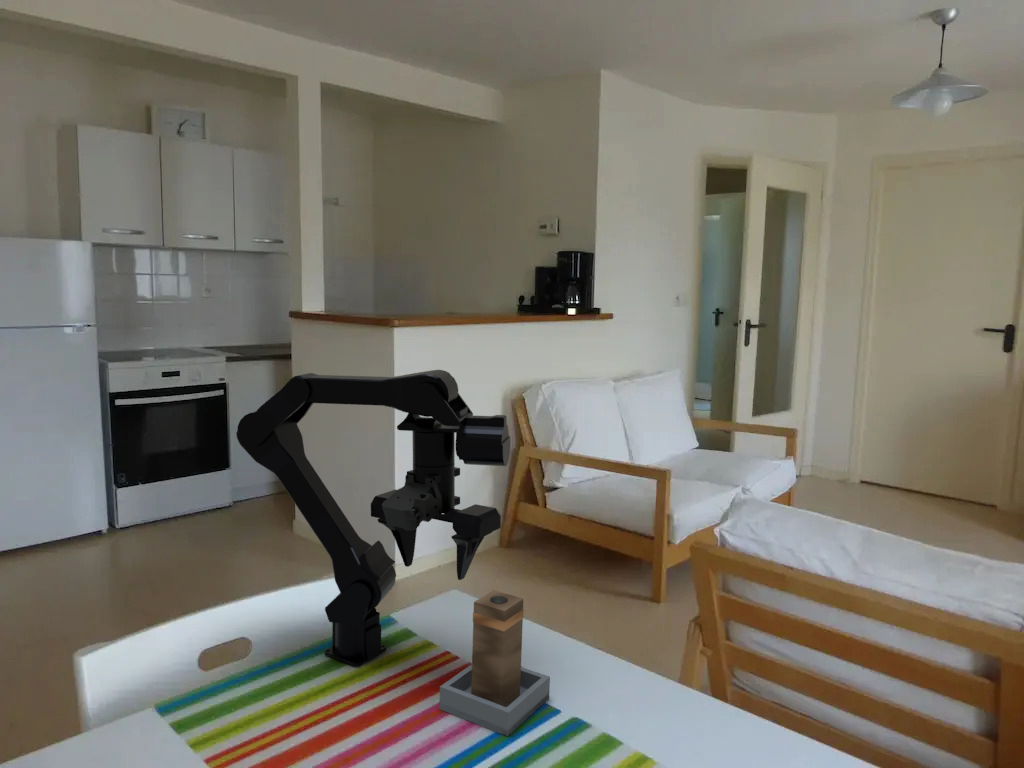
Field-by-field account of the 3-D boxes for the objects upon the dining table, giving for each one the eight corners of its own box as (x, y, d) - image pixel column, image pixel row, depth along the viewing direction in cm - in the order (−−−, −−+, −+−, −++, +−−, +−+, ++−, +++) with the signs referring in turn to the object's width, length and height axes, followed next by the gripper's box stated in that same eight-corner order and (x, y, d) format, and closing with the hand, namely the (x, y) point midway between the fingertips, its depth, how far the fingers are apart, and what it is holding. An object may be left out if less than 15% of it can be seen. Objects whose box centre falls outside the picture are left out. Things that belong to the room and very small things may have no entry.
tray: (439, 709, 93) (440, 686, 93) (484, 675, 102) (485, 654, 102) (507, 736, 88) (508, 712, 88) (549, 698, 97) (550, 676, 96)
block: (470, 700, 94) (473, 601, 93) (490, 684, 98) (493, 589, 97) (501, 711, 92) (504, 610, 90) (520, 695, 96) (524, 597, 94)
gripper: (341, 465, 100) (343, 577, 102) (454, 484, 91) (454, 607, 92) (396, 450, 110) (397, 553, 112) (503, 466, 100) (502, 579, 102)
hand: (434, 572), depth 104 cm, fingers open, 9 cm apart
